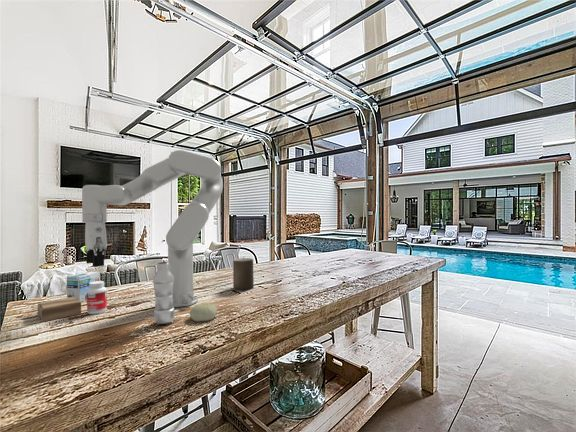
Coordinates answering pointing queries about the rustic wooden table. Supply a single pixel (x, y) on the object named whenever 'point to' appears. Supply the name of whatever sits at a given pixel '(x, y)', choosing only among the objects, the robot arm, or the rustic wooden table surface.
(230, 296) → the rustic wooden table surface
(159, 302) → the plastic bottle
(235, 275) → the pillar candle
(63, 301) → the walnut base
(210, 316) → the sea urchin shell
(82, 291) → the light bulb box
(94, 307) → the pill bottle
